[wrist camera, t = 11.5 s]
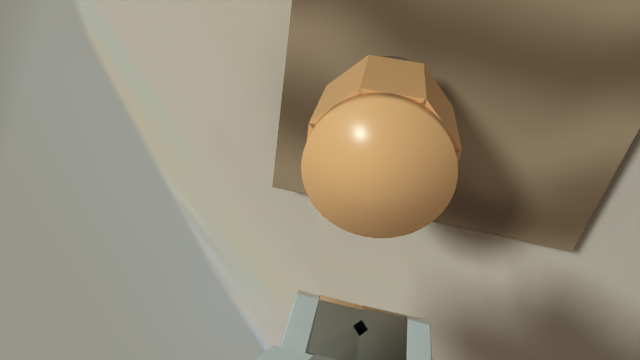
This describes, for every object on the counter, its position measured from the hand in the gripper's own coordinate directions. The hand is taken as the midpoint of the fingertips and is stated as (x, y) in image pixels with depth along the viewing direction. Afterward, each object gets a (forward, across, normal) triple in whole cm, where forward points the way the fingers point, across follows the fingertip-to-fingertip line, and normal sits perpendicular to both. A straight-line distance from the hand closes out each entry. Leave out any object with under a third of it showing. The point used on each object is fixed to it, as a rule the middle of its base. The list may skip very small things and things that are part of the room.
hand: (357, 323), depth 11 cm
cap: (+12, 0, 0) cm, 12 cm away
